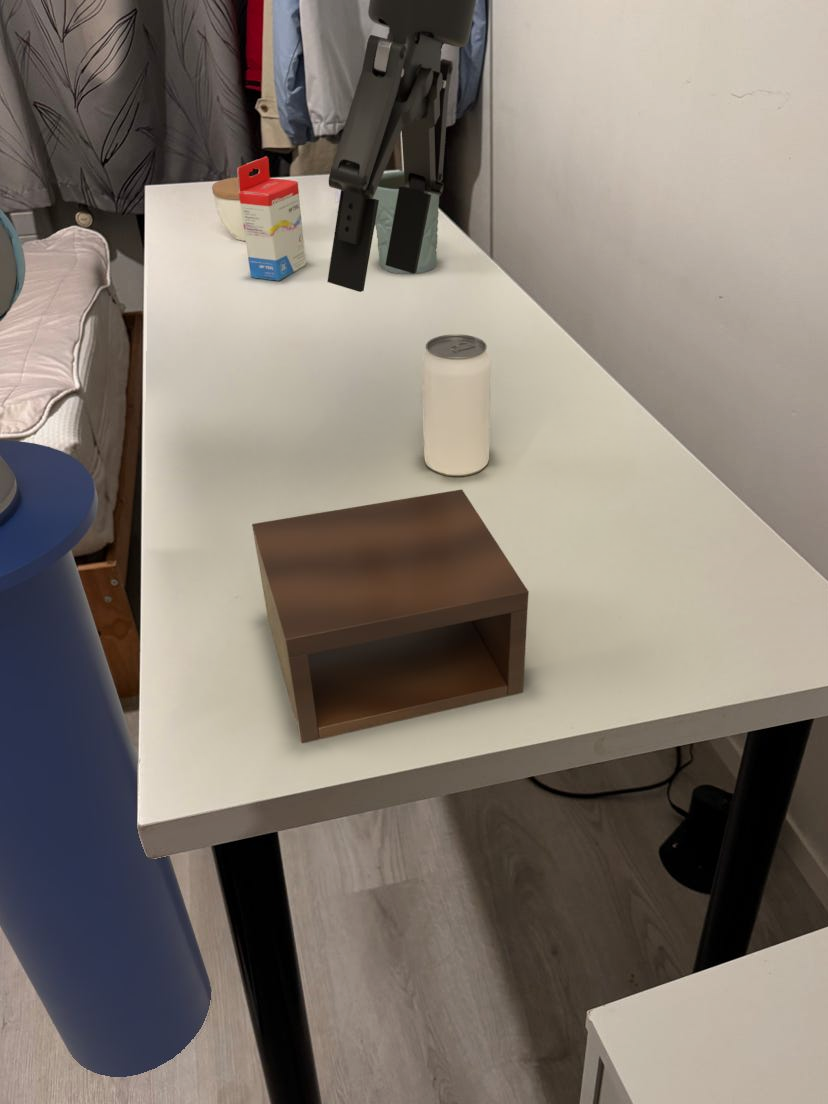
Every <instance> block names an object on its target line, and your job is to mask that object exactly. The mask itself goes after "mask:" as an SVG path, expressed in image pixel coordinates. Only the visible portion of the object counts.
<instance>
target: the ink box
mask: <svg viewBox="0 0 828 1104" xmlns="http://www.w3.org/2000/svg"><path fill="white" fill-rule="evenodd" d="M269 160H270V159H269V157H268V156H267V155H265V156H264V157H261V158H258V159H255V160H252V161H250V162H247V163H245V164H243V165H240V166H238V167H237V169H236V171H237V177H238V184H239V198H240V205H241V211H242V218H243V225H244V232H245V239H246V241H245V246H246V252H247V259H248V266H249V274H250V277H251V278H255V279H261V280H269V281H277V282H278V281H281V280H282V279H284V278H287V277H288V276H290V275H291V274H293V273H295V272H296V271H298V270H300V269H302V268H303V267H305V266H306V265H307V260H306V252H305V250H306V249H305V240H304V229H303V220H302V213H301V212H302V211H301V203H300V201H301V200H300V190H299V182H298V181H296V180H291V179H285V178H283V179H282V178H271V176H270V161H269ZM253 170H258V173H256V174H254V175H251V176H252V177H249V176H250V173H251V172H253ZM270 178H271V179H270Z"/></svg>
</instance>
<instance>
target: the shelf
mask: <svg viewBox="0 0 828 1104" xmlns="http://www.w3.org/2000/svg"><path fill="white" fill-rule="evenodd" d="M251 527H252V531H253V538H254V544H255V550H256V557H257V562H258V568H259V573H260V581H261V587H262V591H263V597H264V603H265V609H266V616H267V621H268V625H269V629H270V632H271V636H272V639H273V643H274V647H275V651H276V654H277V657H278V661H279V665H280V669H281V673H282V676H283V679H284V683H285V687H286V691H287V694H288V698H289V702H290V705H291V709H292V713H293V717H294V721H295V724H296V727H297V730H298V731H297V732H298V734H299V739H300V741H301V744H305V743H308V742H313V741H316V740H319V739H325V738H330V737H333V736H339V735H343V734H346V733H351V732H356V731H360V730H364V729H365V730H366V729H369V728H374V727H377V726H381V725H386V724H390V723H394V722H395V723H396V722H400V721H403V720H408V719H413V718H417V717H421V716H424V715H430V714H434V713H439V712H443V711H447V710H451V709H456V708H460V707H464V706H465V707H466V706H469V705H473V704H477V703H482V702H487V701H490V700H491V701H492V700H495V699H500V698H504V697H507V696H508V697H509V696H513V695H517V694H522V693H524V683H525V682H524V681H525V680H524V679H525V665H526V664H525V663H526V643H527V642H526V641H527V629H528V628H527V627H528V607H529V590H528V588H527V587H526V586H525V584H524V582H523V581H522V580H521V579H522V578H520V576H519V575H518V573H517V571H516V570H515V569H514V567H513V565H512V563H511V562H510V561H509V559H508V558H507V556H506V555H505V553H504V551H503V550H502V549H501V547H500V545H499V544H498V542H497V541H496V538H494V536H493V535H492V533H491V531H490V530H489V528H488V527H487V526H486V524H485V522H484V521H483V519H482V517H481V516H480V515H479V513H478V511H477V510H476V509H475V507H474V504H472V502H471V500H470V499H469V498H468V496H467V495H466V493H465V491H464V490H463V488H462V489H455V490H449V491H443V492H438V493H431V494H425V495H419V496H413V497H406V498H400V499H395V500H388V501H383V502H376V503H371V504H365V505H358V506H352V507H347V508H341V509H333V510H329V511H321V512H315V513H309V514H304V515H303V514H302V515H298V516H292V517H285V518H280V519H274V520H267V521H262V522H254V523H252V524H251Z"/></svg>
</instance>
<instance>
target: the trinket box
mask: <svg viewBox="0 0 828 1104" xmlns="http://www.w3.org/2000/svg"><path fill="white" fill-rule="evenodd" d="M252 176H253V175H251V176H250V175H249V177H252ZM270 179H272V178H271V177H270ZM211 189H212V190H211V191H212V194H213V198H214V199H213V200H214V203H215V208H216V211H217V212H216V213H217V215H218V217H219V220H220V222H221V223H222V226H223V227H224V228H225V229H226V230H227V231H228V233H230V234H232V235H233V237H234V239H236V240H238V241H243V242H246V239H245V232H244V225H243V218H242V211H241V205H240V198H239V184H238V176H235V177H228V178H224V179H221V180H218V181H216V182H214V183H213V184H212V186H211Z"/></svg>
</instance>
